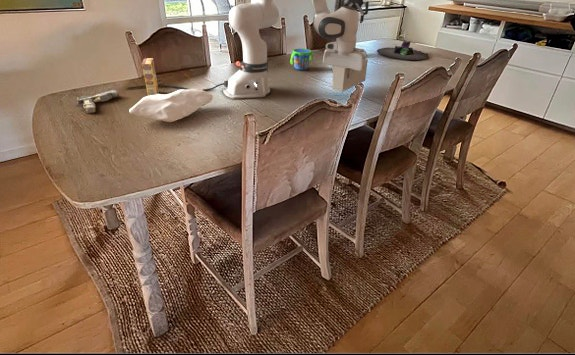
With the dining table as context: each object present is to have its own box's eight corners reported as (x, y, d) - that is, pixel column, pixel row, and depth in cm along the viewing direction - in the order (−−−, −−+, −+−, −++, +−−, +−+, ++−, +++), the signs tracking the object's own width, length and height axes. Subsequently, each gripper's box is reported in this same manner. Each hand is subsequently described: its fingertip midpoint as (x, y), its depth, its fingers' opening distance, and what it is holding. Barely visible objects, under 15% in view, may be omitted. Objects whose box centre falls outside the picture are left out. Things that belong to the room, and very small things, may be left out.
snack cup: (306, 64, 218) (307, 47, 212) (317, 69, 211) (318, 51, 205) (284, 68, 210) (285, 49, 205) (295, 72, 203) (295, 54, 198)
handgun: (128, 97, 156) (111, 87, 164) (86, 107, 144) (70, 97, 152) (129, 103, 157) (113, 94, 165) (88, 114, 146) (72, 103, 154)
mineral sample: (439, 56, 245) (442, 42, 241) (405, 62, 228) (407, 47, 223) (399, 48, 270) (401, 35, 266) (365, 53, 253) (367, 39, 248)
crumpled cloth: (117, 110, 146) (113, 90, 140) (195, 92, 166) (194, 73, 160) (143, 139, 134) (140, 118, 128) (223, 116, 154) (224, 96, 148)
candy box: (157, 97, 164) (152, 63, 155) (147, 98, 163) (141, 63, 155) (158, 91, 171) (153, 57, 163) (149, 91, 170) (143, 58, 162)
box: (342, 91, 169) (344, 68, 164) (331, 89, 172) (333, 66, 166) (365, 80, 184) (367, 59, 179) (355, 78, 187) (357, 57, 182)
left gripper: (370, 48, 160) (365, 79, 168) (329, 41, 170) (326, 71, 177) (364, 51, 156) (359, 82, 163) (322, 44, 165) (320, 74, 173)
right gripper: (372, -12, 184) (367, 22, 193) (344, -14, 187) (340, 20, 196) (370, -11, 178) (365, 24, 187) (341, -13, 181) (337, 22, 190)
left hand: (342, 76), depth 170 cm, fingers closed on box, 6 cm apart
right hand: (352, 22), depth 191 cm, fingers open, 8 cm apart
